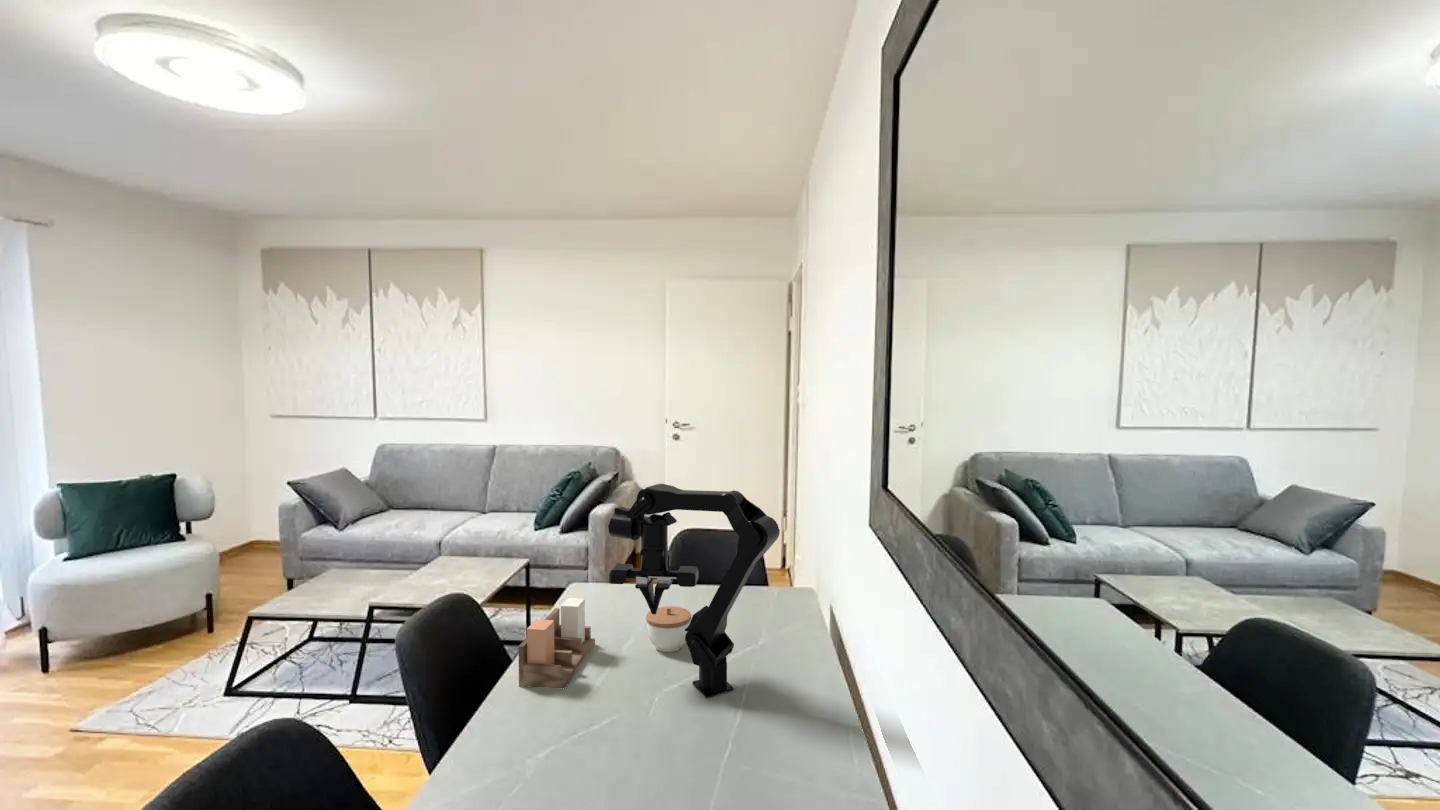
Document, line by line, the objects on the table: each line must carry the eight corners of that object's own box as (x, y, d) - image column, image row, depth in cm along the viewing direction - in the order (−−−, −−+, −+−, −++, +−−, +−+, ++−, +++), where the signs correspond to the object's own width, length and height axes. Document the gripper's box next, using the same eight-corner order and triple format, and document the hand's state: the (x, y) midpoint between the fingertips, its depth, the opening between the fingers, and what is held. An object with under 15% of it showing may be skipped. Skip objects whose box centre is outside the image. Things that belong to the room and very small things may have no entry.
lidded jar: (693, 637, 149) (694, 600, 149) (687, 657, 139) (687, 617, 138) (651, 635, 150) (651, 598, 150) (641, 655, 140) (641, 615, 139)
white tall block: (584, 639, 144) (584, 598, 143) (578, 649, 139) (577, 606, 138) (568, 639, 144) (568, 598, 144) (561, 648, 139) (560, 605, 139)
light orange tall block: (554, 665, 131) (554, 620, 131) (545, 676, 126) (545, 629, 126) (536, 664, 132) (536, 619, 131) (527, 675, 127) (526, 629, 126)
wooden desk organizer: (595, 644, 145) (594, 609, 145) (564, 689, 125) (564, 648, 124) (555, 642, 146) (555, 608, 146) (518, 686, 125) (518, 646, 125)
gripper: (701, 534, 138) (701, 601, 138) (621, 532, 139) (621, 598, 140) (695, 548, 127) (694, 621, 127) (608, 545, 128) (608, 617, 129)
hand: (654, 613), depth 131 cm, fingers closed
